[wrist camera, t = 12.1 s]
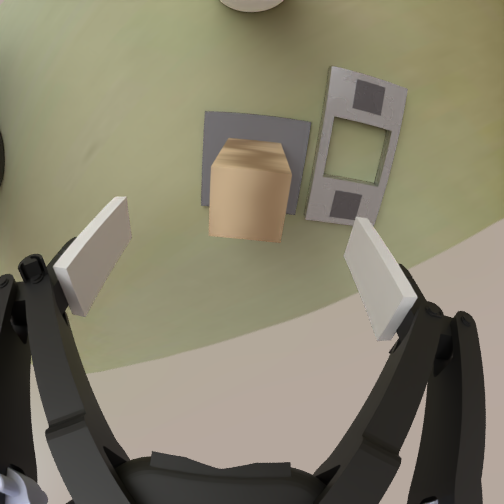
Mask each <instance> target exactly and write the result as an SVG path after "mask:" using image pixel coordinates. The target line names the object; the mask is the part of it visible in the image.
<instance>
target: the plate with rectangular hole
mask: <svg viewBox="0 0 504 504" xmlns="http://www.w3.org/2000/svg"><path fill="white" fill-rule="evenodd" d="M407 90H408V89H406V88H404V87H401V86H398V85H396V84H393V83H390V82H387V81H384V80H381V79H378V78H375V77H372V76H369V75H365V74H362V73H358V72H355V71H351V70H347V69H343V68H339V67H335V66H329V70H328V77H327V85H326V91H325V98H324V105H323V111H322V117H321V124H320V130H319V136H318V141H317V147H316V153H315V158H314V164H313V169H312V175H311V180H310V185H309V190H308V195H307V200H306V205H305V210H304V217H305V219H306V220H314V221H322V222H329V223H337V224H344V225H352V226H353V225H354V222H355V218H356V217H362V218H368V220H369V221H370V223H371V224H372V225H373V227H374V224H375V221H376V218H377V215H378V212H379V208H380V205H381V202H382V199H383V195H384V192H385V188H386V185H387V181H388V178H389V174H390V170H391V166H392V162H393V159H394V154H395V150H396V146H397V142H398V137H399V133H400V128H401V123H402V118H403V113H404V108H405V102H406V96H407ZM334 116H335V117H340V118H345V119H349V120H353V121H357V122H361V123H365V124H369V125H373V126H376V127H380V128H383V129H387V132H386V136H385V141H384V145H383V150H382V154H381V158H380V162H379V166H378V170H377V174H376V178H375V182H374V183H372V182H367V181H362V180H357V179H351V178H346V177H340V176H335V175H329V174H324V169H325V164H326V159H327V154H328V148H329V143H330V138H331V132H332V126H333V120H334Z"/></svg>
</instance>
